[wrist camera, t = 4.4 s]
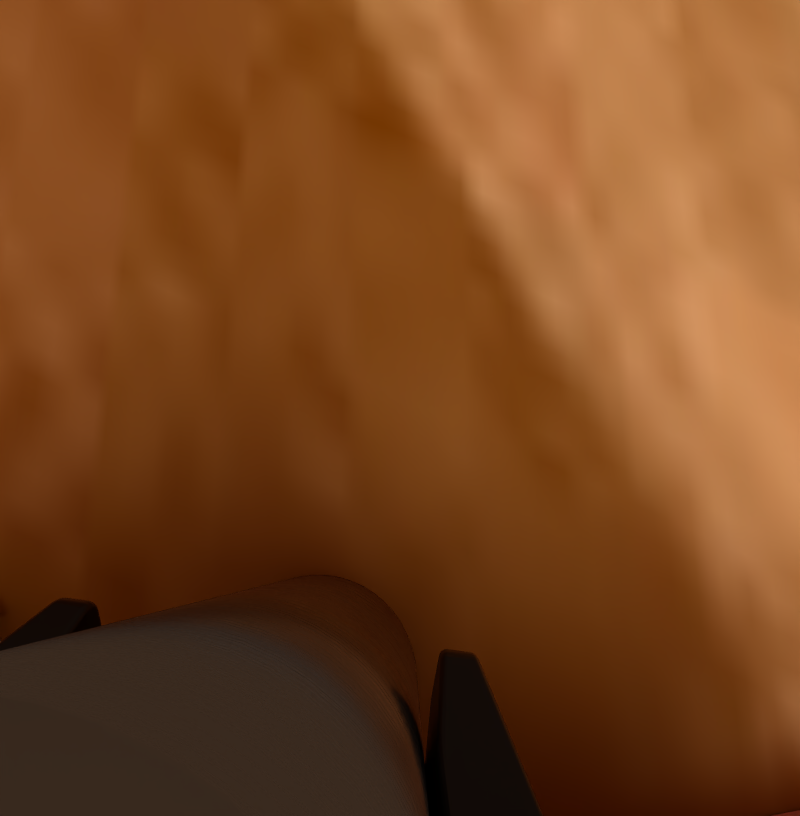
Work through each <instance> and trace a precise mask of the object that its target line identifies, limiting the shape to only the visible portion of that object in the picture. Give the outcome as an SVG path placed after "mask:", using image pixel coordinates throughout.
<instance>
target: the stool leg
mask: <svg viewBox="0 0 800 816" xmlns="http://www.w3.org/2000/svg"><path fill="white" fill-rule="evenodd" d="M0 816H429V806H428V795H427V784H426V773H425V762H424V751H423V740H422V729H421V719H420V708H419V697H418V686H417V675H416V665H415V658H414V654H413V650H412V646H411V643H410V641H409V638H408V635H407V633H406V631H405V629H404V627H403V625H402V623H401V622H400V620H399V619H398V617H397V616H396V615H395V613H394V612H393V611H392V610H391V608H390V607H389V606H388V605H387V604H386V603H385V602H384V601H383V600H382V599H380V598H379V597H378V596H377V595H376V594H374V593H373V592H371V591H370V590H368V589H367V588H365V587H363V586H361V585H359V584H357V583H355V582H352V581H350V580H346V579H343V578H340V577H334V576H327V575H310V576H301V577H297V578H293V579H289V580H285V581H281V582H277V583H273V584H269V585H265V586H260V587H256V588H252V589H248V590H244V591H240V592H236V593H232V594H228V595H224V596H220V597H216V598H212V599H208V600H204V601H200V602H196V603H192V604H188V605H184V606H180V607H176V608H172V609H167V610H163V611H159V612H155V613H151V614H147V615H143V616H139V617H135V618H131V619H127V620H123V621H119V622H115V623H111V624H107V625H103V626H99V627H95V628H91V629H87V630H83V631H79V632H74V633H70V634H66V635H62V636H58V637H54V638H50V639H46V640H42V641H38V642H34V643H30V644H26V645H22V646H18V647H14V648H10V649H6V650H2V651H0Z"/></svg>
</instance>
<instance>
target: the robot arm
mask: <svg viewBox="0 0 800 816" xmlns="http://www.w3.org/2000/svg"><path fill="white" fill-rule="evenodd" d="M99 626H101V622H100V617H99V612H98V609H97V606H96V605H95V604H94V603H93V602H91V601H86V600H78V599H71V598H61V599H58V600H56V601H54V602H52V603H51V604H50V605H48V606H47V607H46V608H44V609H43V610H42V611H41V612H39V613H38V614H37V615H35V616H34V617H33V618H31V619H30V620H29V621H27V622H26V623H25V624H24V625H22V626H21V627H20V628H18V629H17V630H16V631H14V632H13V633H12V634H10V635H9V636H8V637H6V638H5V639H4V640H3V641H1V642H0V651H2V650H6V649H10V648H14V647H18V646H22V645H26V644H30V643H34V642H38V641H42V640H46V639H50V638H54V637H58V636H62V635H66V634H70V633H74V632H79V631H83V630H87V629H91V628H95V627H99ZM425 773H426V784H427V795H428V806H429V816H543V814H542V811H541V809H540V807H539V804H538V802H537V799H536V797H535V794H534V792H533V790H532V787H531V785H530V782H529V780H528V778H527V775H526V773H525V770H524V768H523V766H522V763H521V761H520V758H519V756H518V753H517V751H516V749H515V746H514V744H513V741H512V739H511V737H510V734H509V732H508V729H507V727H506V725H505V722H504V720H503V717H502V715H501V712H500V710H499V708H498V705H497V703H496V700H495V698H494V696H493V693H492V691H491V688H490V686H489V684H488V681H487V679H486V676H485V674H484V671H483V669H482V667H481V664H480V662H479V660H478V658H477V657H476V655H474V654H473V653H471V652H464V651H457V650H449V649H444V650H442V651H441V652H440V655H439V659H438V664H437V670H436V675H435V681H434V686H433V692H432V698H431V707H430V717H429V728H428V739H427V749H426V760H425Z"/></svg>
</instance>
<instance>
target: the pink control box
mask: <svg viewBox="0 0 800 816" xmlns="http://www.w3.org/2000/svg"><path fill="white" fill-rule="evenodd" d="M772 816H800V810H798V811H793V812H787V813H782V814H777V815H772Z"/></svg>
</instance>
